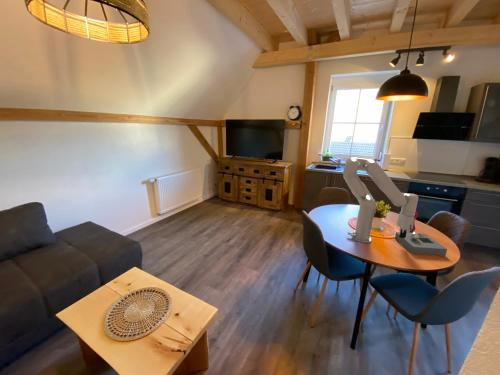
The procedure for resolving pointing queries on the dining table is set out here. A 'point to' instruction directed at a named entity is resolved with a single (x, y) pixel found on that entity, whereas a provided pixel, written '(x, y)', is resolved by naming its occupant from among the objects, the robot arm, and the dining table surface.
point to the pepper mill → (413, 223)
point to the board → (421, 245)
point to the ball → (414, 236)
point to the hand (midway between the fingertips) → (402, 237)
